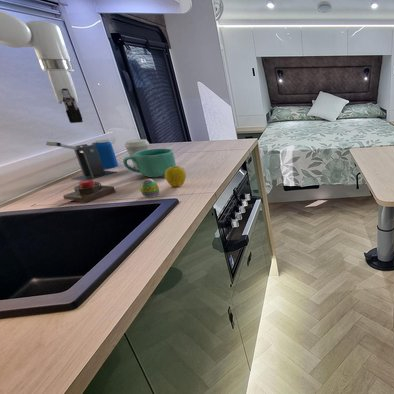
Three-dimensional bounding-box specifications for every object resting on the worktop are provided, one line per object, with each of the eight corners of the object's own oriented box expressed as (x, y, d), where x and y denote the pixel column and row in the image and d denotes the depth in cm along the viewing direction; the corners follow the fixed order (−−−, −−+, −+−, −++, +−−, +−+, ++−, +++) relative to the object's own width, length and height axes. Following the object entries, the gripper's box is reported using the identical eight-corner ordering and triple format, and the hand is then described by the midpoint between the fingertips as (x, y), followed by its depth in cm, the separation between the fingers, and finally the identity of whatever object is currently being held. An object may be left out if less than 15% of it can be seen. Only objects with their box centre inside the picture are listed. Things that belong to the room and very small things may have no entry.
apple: (171, 190, 99) (166, 168, 96) (165, 186, 103) (159, 164, 100) (191, 185, 104) (186, 164, 101) (184, 182, 107) (179, 161, 104)
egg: (143, 200, 91) (137, 182, 89) (142, 195, 95) (137, 178, 93) (161, 196, 94) (156, 179, 92) (159, 192, 98) (155, 175, 95)
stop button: (86, 188, 91) (84, 183, 90) (77, 187, 92) (75, 182, 91) (97, 185, 94) (95, 179, 94) (89, 184, 95) (87, 179, 94)
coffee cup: (130, 172, 120) (121, 143, 115) (133, 167, 127) (125, 140, 122) (154, 169, 124) (147, 141, 119) (156, 164, 131) (148, 138, 126)
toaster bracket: (89, 183, 108) (77, 149, 103) (71, 181, 110) (58, 148, 105) (118, 174, 117) (108, 143, 113) (101, 173, 120) (90, 142, 115)
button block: (84, 204, 89) (79, 191, 88) (65, 201, 91) (60, 189, 89) (116, 192, 98) (112, 181, 97) (98, 190, 100) (94, 179, 98)
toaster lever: (56, 147, 99) (57, 140, 99) (45, 146, 100) (46, 139, 100) (94, 154, 110) (95, 148, 110) (84, 153, 111) (85, 147, 111)
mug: (179, 169, 123) (173, 147, 120) (176, 177, 113) (170, 153, 109) (132, 174, 117) (125, 151, 113) (125, 183, 106) (117, 158, 103)
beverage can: (103, 167, 127) (94, 140, 122) (121, 166, 129) (112, 139, 124) (97, 171, 121) (87, 143, 117) (116, 170, 123) (106, 142, 119)
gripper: (43, 67, 96) (62, 120, 103) (38, 64, 84) (60, 124, 91) (73, 67, 101) (90, 118, 107) (72, 65, 89) (91, 122, 95)
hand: (76, 121), depth 99 cm, fingers open, 9 cm apart
